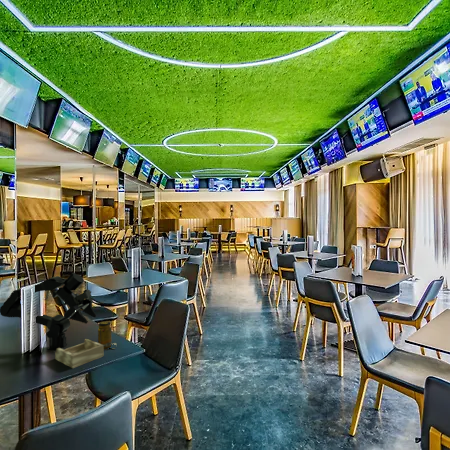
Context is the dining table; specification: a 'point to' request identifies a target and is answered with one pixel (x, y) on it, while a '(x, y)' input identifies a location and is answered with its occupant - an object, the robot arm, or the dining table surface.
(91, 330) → the dining table surface
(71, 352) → the tan square tray
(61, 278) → the robot arm
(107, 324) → the condiment
